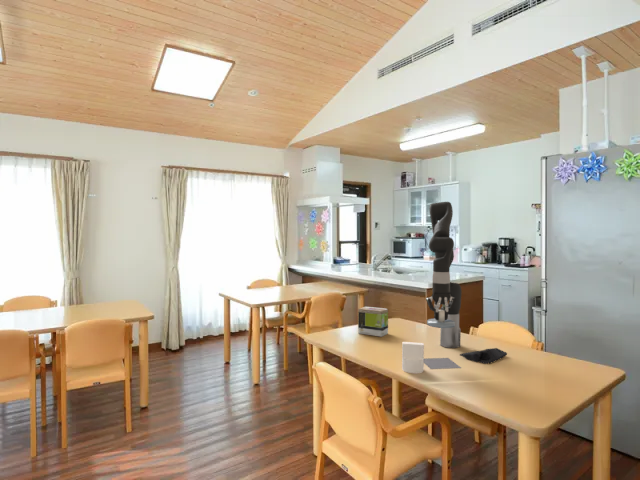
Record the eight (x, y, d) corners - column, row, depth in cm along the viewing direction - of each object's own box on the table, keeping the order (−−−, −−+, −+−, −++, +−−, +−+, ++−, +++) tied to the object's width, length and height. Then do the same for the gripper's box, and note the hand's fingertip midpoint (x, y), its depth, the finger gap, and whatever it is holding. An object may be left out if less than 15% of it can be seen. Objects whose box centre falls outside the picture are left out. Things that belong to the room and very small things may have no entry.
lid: (448, 321, 190) (448, 307, 190) (459, 327, 178) (459, 312, 178) (423, 322, 188) (423, 308, 188) (433, 328, 177) (433, 313, 176)
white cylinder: (401, 373, 172) (401, 345, 172) (402, 366, 181) (402, 339, 180) (423, 375, 170) (423, 347, 169) (423, 368, 178) (423, 341, 178)
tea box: (388, 333, 238) (388, 308, 237) (381, 337, 229) (381, 311, 229) (365, 330, 246) (365, 305, 245) (357, 333, 237) (357, 308, 237)
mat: (448, 359, 192) (448, 357, 192) (461, 369, 178) (461, 367, 178) (419, 359, 190) (419, 358, 190) (430, 370, 176) (430, 368, 176)
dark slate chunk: (513, 359, 193) (513, 349, 193) (482, 367, 182) (482, 356, 182) (485, 350, 206) (485, 341, 206) (455, 357, 195) (455, 347, 195)
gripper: (452, 280, 187) (452, 317, 188) (422, 280, 185) (422, 318, 186) (460, 282, 180) (459, 321, 180) (429, 283, 178) (429, 322, 179)
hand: (440, 319), depth 183 cm, fingers closed on lid, 3 cm apart
